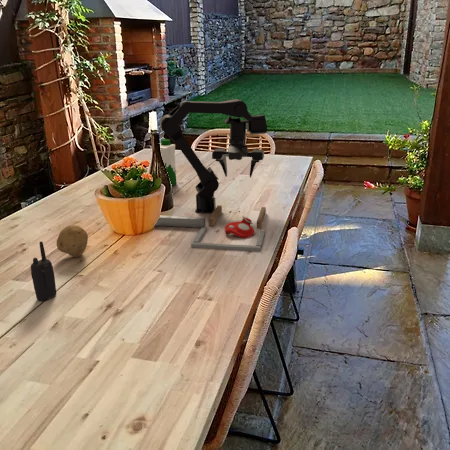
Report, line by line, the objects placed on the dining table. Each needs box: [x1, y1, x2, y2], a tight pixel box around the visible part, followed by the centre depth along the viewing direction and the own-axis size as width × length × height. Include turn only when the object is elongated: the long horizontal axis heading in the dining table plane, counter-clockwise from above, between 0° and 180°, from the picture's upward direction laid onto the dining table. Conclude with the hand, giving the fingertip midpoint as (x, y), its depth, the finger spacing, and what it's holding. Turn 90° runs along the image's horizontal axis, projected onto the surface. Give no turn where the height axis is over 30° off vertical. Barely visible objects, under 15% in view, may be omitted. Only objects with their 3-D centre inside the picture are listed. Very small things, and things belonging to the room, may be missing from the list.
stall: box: [208, 204, 267, 230], centre depth 169 cm, size 18×15×2 cm
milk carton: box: [159, 138, 177, 187], centre depth 208 cm, size 9×9×20 cm
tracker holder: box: [224, 216, 255, 239], centre depth 158 cm, size 12×4×10 cm
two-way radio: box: [30, 241, 57, 302], centre depth 117 cm, size 6×4×15 cm
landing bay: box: [190, 227, 266, 252], centre depth 152 cm, size 22×14×1 cm, turn 79°
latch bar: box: [154, 214, 207, 229], centre depth 164 cm, size 18×2×3 cm, turn 79°
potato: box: [56, 224, 89, 258], centre depth 141 cm, size 9×9×10 cm
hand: (238, 176), depth 178 cm, fingers open, 9 cm apart
